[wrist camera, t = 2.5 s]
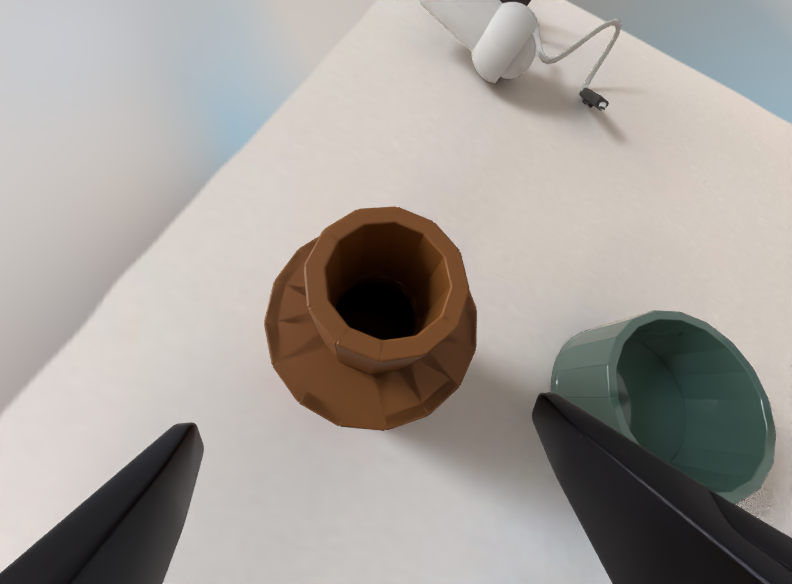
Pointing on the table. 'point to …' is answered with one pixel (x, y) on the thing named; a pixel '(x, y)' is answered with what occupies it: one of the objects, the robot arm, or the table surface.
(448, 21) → the clip-on lamp
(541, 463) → the table surface
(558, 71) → the table surface
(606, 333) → the cup
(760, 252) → the table surface
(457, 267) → the bottle
